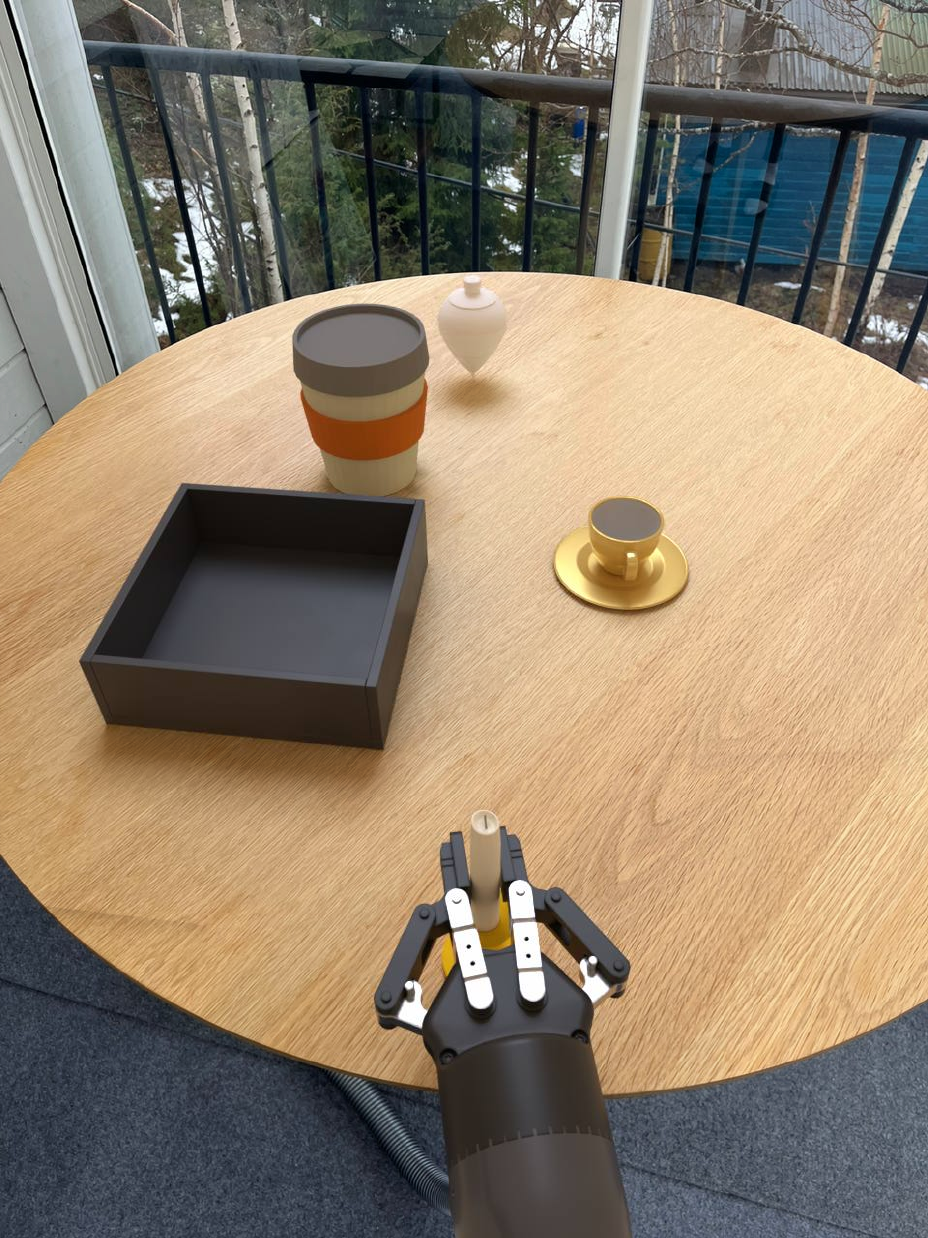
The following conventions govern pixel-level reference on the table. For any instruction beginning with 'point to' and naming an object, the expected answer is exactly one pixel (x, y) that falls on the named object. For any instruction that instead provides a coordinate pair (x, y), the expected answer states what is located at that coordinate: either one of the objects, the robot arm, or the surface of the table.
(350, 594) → the bin
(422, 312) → the table surface
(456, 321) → the spinning top
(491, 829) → the candle
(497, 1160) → the robot arm
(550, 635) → the table surface
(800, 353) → the table surface
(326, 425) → the reusable coffee cup
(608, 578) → the cup
